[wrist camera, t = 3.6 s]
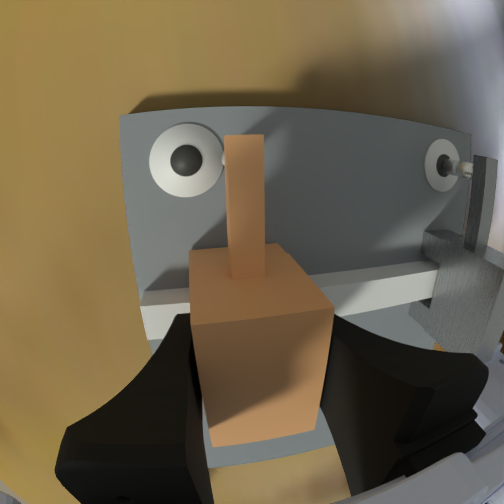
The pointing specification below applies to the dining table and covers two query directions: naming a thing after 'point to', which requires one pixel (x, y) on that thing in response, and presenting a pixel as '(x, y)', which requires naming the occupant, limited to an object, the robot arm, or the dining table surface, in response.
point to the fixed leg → (466, 272)
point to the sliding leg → (255, 318)
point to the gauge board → (294, 217)
